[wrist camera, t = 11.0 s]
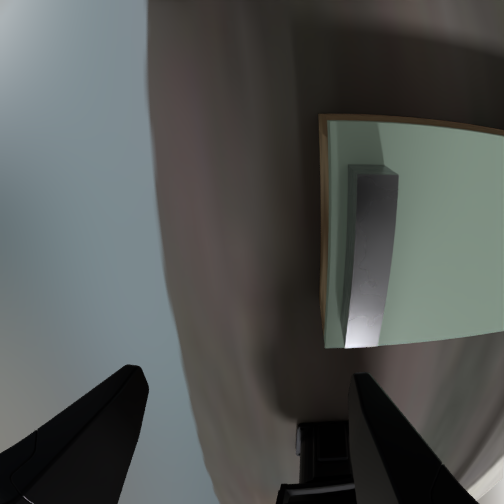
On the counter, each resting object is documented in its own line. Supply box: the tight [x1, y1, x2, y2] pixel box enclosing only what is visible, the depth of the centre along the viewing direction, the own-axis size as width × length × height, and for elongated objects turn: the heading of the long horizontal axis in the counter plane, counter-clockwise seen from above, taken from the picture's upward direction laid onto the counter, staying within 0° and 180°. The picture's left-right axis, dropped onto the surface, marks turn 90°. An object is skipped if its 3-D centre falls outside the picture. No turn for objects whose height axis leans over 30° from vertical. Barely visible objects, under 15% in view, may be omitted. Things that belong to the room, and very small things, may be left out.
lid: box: [324, 120, 504, 348], centre depth 13 cm, size 12×16×3 cm
